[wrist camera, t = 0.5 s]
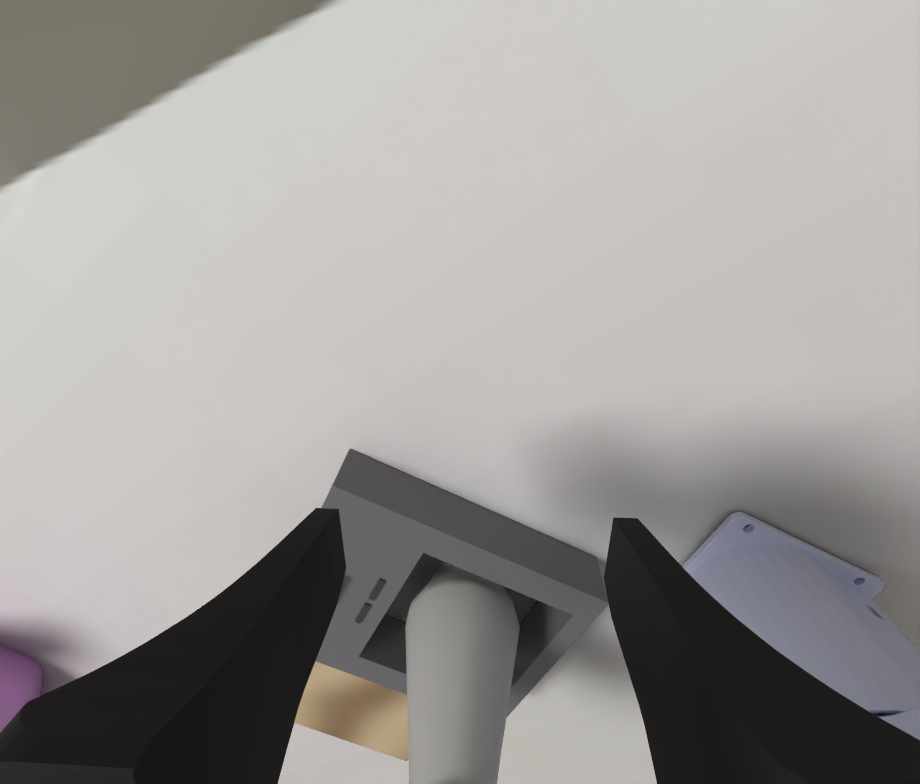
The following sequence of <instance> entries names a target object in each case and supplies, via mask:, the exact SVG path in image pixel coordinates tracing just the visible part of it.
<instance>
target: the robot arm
mask: <svg viewBox="0 0 920 784" xmlns="http://www.w3.org/2000/svg"><path fill="white" fill-rule="evenodd" d="M749 524H750V525H749ZM746 525H749V526H748V527H745V528H744V526H746ZM345 571H346V562H345V554H344V546H343V538H342V530H341V523H340V515H339V509H327V508H316V509H315V510H314V511H313V512H312V513H310V514H309V515H308V516H307V517H306V518H305V519H304V520H303V521H302V522H301V523H300V524H299V525H298V526H297V527H296V528H295V529H294V530H293V531H291V532H290V533H289V534H288V535H287V536H286V537H285V538H284V539H283V540H282V541H281V542H280V543H279V544H278V545H277V546H275V547H274V548H273V549H272V550H271V551H270V552H269V553H268V554H267V555H266V556H265V557H263V558H262V559H261V560H260V561H259V562H258V563H257V564H256V565H254V566H253V567H252V568H251V569H250V570H248V571H247V572H246V573H245V574H244V575H242V576H241V577H240V578H239V579H238V580H236V581H235V582H234V583H233V584H232V585H230V586H229V587H228V588H227V589H225V590H224V591H223V592H221V593H220V594H219V595H217V596H216V597H215V598H213V599H212V600H211V601H209V602H208V603H206V604H205V605H203V606H202V607H201V608H199V609H198V610H196V611H195V612H194V613H192V614H191V615H189V616H188V617H186V618H185V619H183V620H181V621H180V622H178V623H177V624H175V625H173V626H172V627H170V628H169V629H167V630H165V631H164V632H162V633H161V634H159V635H157V636H156V637H154V638H153V639H151V640H149V641H148V642H146V643H144V644H143V645H141V646H139V647H137V648H136V649H134V650H132V651H130V652H128V653H127V654H125V655H123V656H121V657H119V658H117V659H116V660H114V661H112V662H110V663H108V664H106V665H104V666H102V667H100V668H99V669H97V670H95V671H93V672H91V673H89V674H87V675H85V676H83V677H80V678H78V679H76V680H74V681H72V682H70V683H68V684H65V685H63V686H61V687H59V688H57V689H55V690H53V691H51V692H48V693H46V694H44V695H42V696H40V697H38V698H35V699H33V700H31V701H28V702H27V703H26V704H25V705H24V706H23V707H22V708H21V709H20V710H19V712H18V713H17V714H16V715H15V716H14V717H13V719H12V720H11V721H10V722H9V723H8V724H7V725H6V727H5V728H4V729H3V730H2V731H1V732H0V784H278V780H279V776H280V772H281V769H282V765H283V761H284V757H285V753H286V750H287V746H288V743H289V739H290V736H291V732H292V728H293V725H294V721H295V718H296V714H297V711H298V707H299V704H300V701H301V698H302V696H303V693H304V690H305V687H306V684H307V682H308V679H309V677H310V674H311V671H312V669H313V666H314V664H315V661H316V658H317V656H318V653H319V651H320V648H321V646H322V643H323V640H324V638H325V635H326V633H327V630H328V627H329V625H330V622H331V620H332V617H333V614H334V612H335V609H336V606H337V603H338V599H339V596H340V592H341V588H342V584H343V580H344V575H345ZM604 580H605V586H606V591H607V597H608V602H609V607H610V612H611V617H612V620H613V624H614V627H615V630H616V633H617V636H618V640H619V643H620V646H621V649H622V652H623V656H624V659H625V662H626V665H627V668H628V671H629V674H630V678H631V681H632V684H633V687H634V690H635V693H636V697H637V700H638V703H639V706H640V710H641V714H642V717H643V721H644V725H645V729H646V734H647V738H648V743H649V747H650V752H651V756H652V761H653V766H654V770H655V775H656V780H657V784H920V652H919V651H918V650H917V649H916V648H915V647H914V645H913V644H912V643H911V642H910V641H909V640H908V639H907V638H906V636H905V635H904V634H903V633H902V632H901V631H900V630H899V629H898V627H897V626H896V625H895V624H894V623H893V622H892V621H891V620H890V618H889V617H888V616H887V615H886V614H885V613H884V612H883V611H882V609H881V608H880V607H879V606H878V605H877V604H876V603H875V602H874V600H873V598H874V597H875V596H877V595H878V594H879V593H880V592H881V591H882V590H883V589H884V583H883V582H882V581H881V580H880V579H879V578H878V577H876V576H874V575H872V574H870V573H868V572H866V571H864V570H862V569H860V568H857V567H855V566H853V565H851V564H849V563H847V562H845V561H843V560H841V559H839V558H837V557H835V556H833V555H830V554H828V553H826V552H824V551H822V550H820V549H818V548H816V547H814V546H812V545H810V544H808V543H806V542H803V541H801V540H799V539H797V538H795V537H793V536H791V535H789V534H787V533H785V532H783V531H781V530H779V529H776V528H774V527H772V526H770V525H768V524H766V523H764V522H762V521H760V520H758V519H756V518H754V517H752V516H749V515H747V514H745V513H743V512H735V513H733V514H731V515H730V516H729V517H728V518H727V519H726V520H725V521H724V522H723V523H722V524H721V525H720V526H719V527H718V528H717V529H716V530H715V531H714V533H713V534H712V535H711V536H710V537H709V538H708V539H707V540H706V541H705V542H704V543H703V544H702V545H701V546H700V547H699V548H698V549H697V551H696V552H695V553H694V554H693V555H692V556H691V557H690V558H689V559H688V560H687V561H686V562H685V563H684V564H683V565H682V566H681V565H680V564H679V563H678V562H677V561H676V560H675V559H674V558H673V557H672V556H671V555H670V553H669V552H668V551H667V550H666V549H665V548H664V547H663V546H662V545H661V544H660V543H659V541H658V540H657V539H656V538H655V537H654V536H653V535H652V534H651V533H650V532H649V530H648V529H647V528H646V527H645V526H644V525H643V524H642V523H641V522H640V521H639V520H638V519H636V518H613V524H612V531H611V537H610V543H609V550H608V556H607V563H606V569H605V575H604Z"/></svg>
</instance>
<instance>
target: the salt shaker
mask: <svg viewBox="0 0 920 784" xmlns="http://www.w3.org/2000/svg"><path fill="white" fill-rule="evenodd" d="M405 629H406V670H407V711H408V751H409V784H497V778H498V771H499V763H500V755H501V749H502V742H503V735H504V729H505V722H506V716H507V709H508V703H509V696H510V690H511V683H512V677H513V670H514V664H515V657H516V651H517V644H518V638H519V631H520V626H519V622H518V619H517V615H516V611H515V608H514V604H513V601H512V599H511V598H510V596H509V595H508V593H507V592H506V590H505V588H504V587H503V586H502V585H499V584H497V583H495V582H492V581H490V580H487V579H485V578H483V577H480V576H478V575H475V574H473V573H470V572H468V571H466V570H463V569H461V568H458V567H456V566H454V565H451V566H445V567H439V568H438V569H437V571H436V572H435V574H434V575H433V577H432V578H431V580H430V581H429V582H428V584H427V585H426V586H425V587H424V589H423V590H422V591H421V592H420V593H419V594H418V595H417V596H416V597H415V598H414V599H413V600H412V602H411V605H410V608H409V612H408V617H407V622H406V626H405Z"/></svg>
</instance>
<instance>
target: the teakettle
mask: <svg viewBox="0 0 920 784" xmlns="http://www.w3.org/2000/svg"><path fill="white" fill-rule="evenodd" d="M42 683H43V673H42V668H41V666H40V664H39V663H38V662H37V661H35V660H34V659H32V658H30V657H28V656H26V655H24V654H21V653H19V652H17V651H15V650H12V649H10V648H8V647H5V646H3V645H0V732H1V731H2V730H3V729H4V728H5V727H6V725H7V724H8V723H9V722H10V721H11V720H12V719H13V717H14V716H15V715H16V714H17V713H18V712H19V710H20V709H21V708H22V707H23V706H24V705H25V704H26V703H27V702H28V701H31V700H33V699H35V698H38V697H40V696H41V690H42Z"/></svg>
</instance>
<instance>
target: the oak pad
mask: <svg viewBox="0 0 920 784" xmlns="http://www.w3.org/2000/svg"><path fill="white" fill-rule="evenodd" d="M294 723H297V724H300V725H303V726H305V727H308V728H311V729H314V730H317V731H320V732H323V733H326V734H329V735H332V736H335V737H338V738H340V739H343V740H346V741H349V742H352V743H355V744H358V745H361V746H364V747H367V748H370V749H373V750H375V751H378V752H381V753H384V754H387V755H390V756H393V757H396V758H399V759H402V760H405V761H407V760H408V759H409V751H408V711H407V695H406V694H404V693H401V692H398V691H395V690H393V689H390V688H387V687H384V686H382V685H379V684H376V683H373V682H371V681H368V680H365V679H363V678H360V677H357V676H354V675H352V674H349V673H346V672H343V671H341V670H338V669H335V668H332V667H330V666H327V665H324V664H321V663H319V662H316V661H315V664H314V666H313V669H312V671H311V674H310V677H309V679H308V682H307V684H306V687H305V690H304V693H303V696H302V698H301V701H300V704H299V707H298V711H297V714H296V718H295V721H294Z"/></svg>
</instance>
